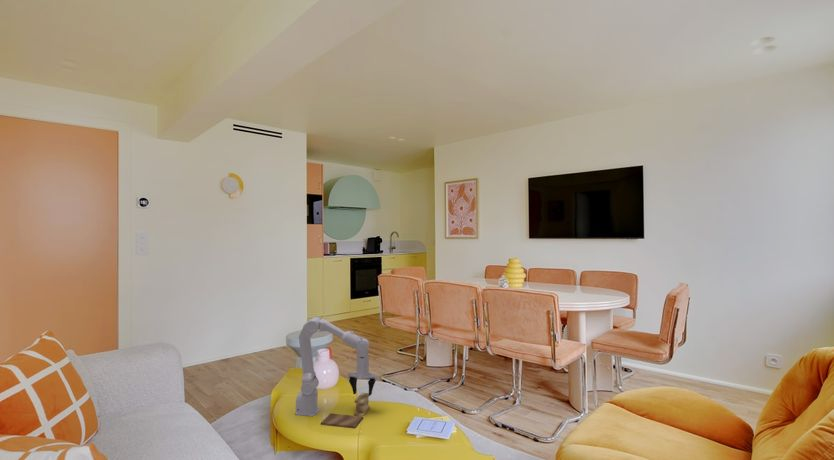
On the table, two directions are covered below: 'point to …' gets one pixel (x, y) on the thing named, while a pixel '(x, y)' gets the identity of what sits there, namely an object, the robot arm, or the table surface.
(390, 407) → the table surface
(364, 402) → the oak stool
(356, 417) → the walnut board
